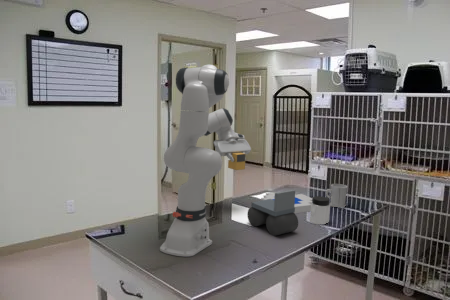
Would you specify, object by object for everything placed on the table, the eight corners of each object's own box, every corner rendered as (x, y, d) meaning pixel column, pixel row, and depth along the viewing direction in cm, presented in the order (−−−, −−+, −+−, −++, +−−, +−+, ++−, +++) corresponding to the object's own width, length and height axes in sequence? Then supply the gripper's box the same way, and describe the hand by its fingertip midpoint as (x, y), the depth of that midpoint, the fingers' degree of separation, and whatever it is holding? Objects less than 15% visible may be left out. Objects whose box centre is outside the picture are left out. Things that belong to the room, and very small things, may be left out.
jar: (307, 219, 177) (308, 196, 175) (321, 218, 179) (323, 195, 177) (316, 226, 168) (318, 201, 166) (331, 224, 171) (333, 200, 169)
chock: (228, 167, 183) (228, 152, 182) (236, 166, 187) (237, 151, 185) (236, 170, 178) (237, 154, 177) (244, 169, 181) (245, 153, 180)
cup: (334, 209, 195) (336, 188, 193) (323, 204, 203) (325, 184, 202) (349, 207, 199) (351, 186, 198) (338, 203, 208) (339, 183, 206)
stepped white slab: (324, 203, 193) (281, 208, 181) (323, 210, 194) (280, 216, 182) (293, 190, 218) (254, 194, 206) (293, 196, 219) (253, 200, 207)
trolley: (298, 233, 158) (301, 191, 155) (279, 238, 151) (281, 195, 148) (265, 218, 175) (267, 181, 173) (246, 223, 168) (248, 184, 166)
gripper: (214, 136, 178) (225, 158, 172) (246, 135, 190) (257, 155, 184) (209, 144, 182) (219, 166, 176) (240, 142, 194) (251, 162, 188)
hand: (239, 160), depth 180 cm, fingers closed on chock, 5 cm apart
